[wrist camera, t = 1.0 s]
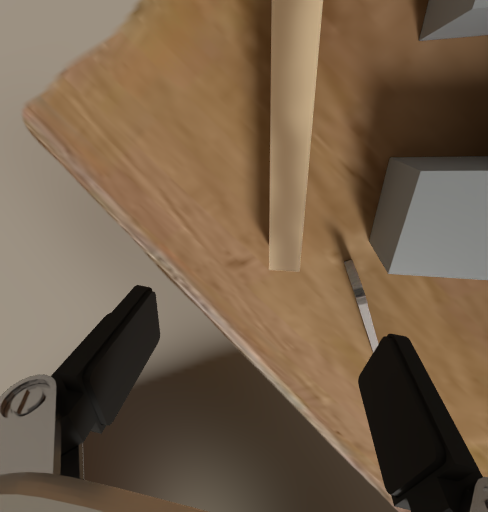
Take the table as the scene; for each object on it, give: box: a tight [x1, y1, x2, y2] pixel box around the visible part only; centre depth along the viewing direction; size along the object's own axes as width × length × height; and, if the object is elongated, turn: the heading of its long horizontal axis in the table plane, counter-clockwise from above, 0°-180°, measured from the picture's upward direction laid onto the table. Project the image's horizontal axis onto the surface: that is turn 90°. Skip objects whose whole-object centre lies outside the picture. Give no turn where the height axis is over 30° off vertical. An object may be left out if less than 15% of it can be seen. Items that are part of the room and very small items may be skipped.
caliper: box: [344, 260, 378, 353], centre depth 32 cm, size 20×1×6 cm, turn 26°
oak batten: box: [269, 0, 323, 272], centre depth 24 cm, size 4×24×5 cm, turn 3°
